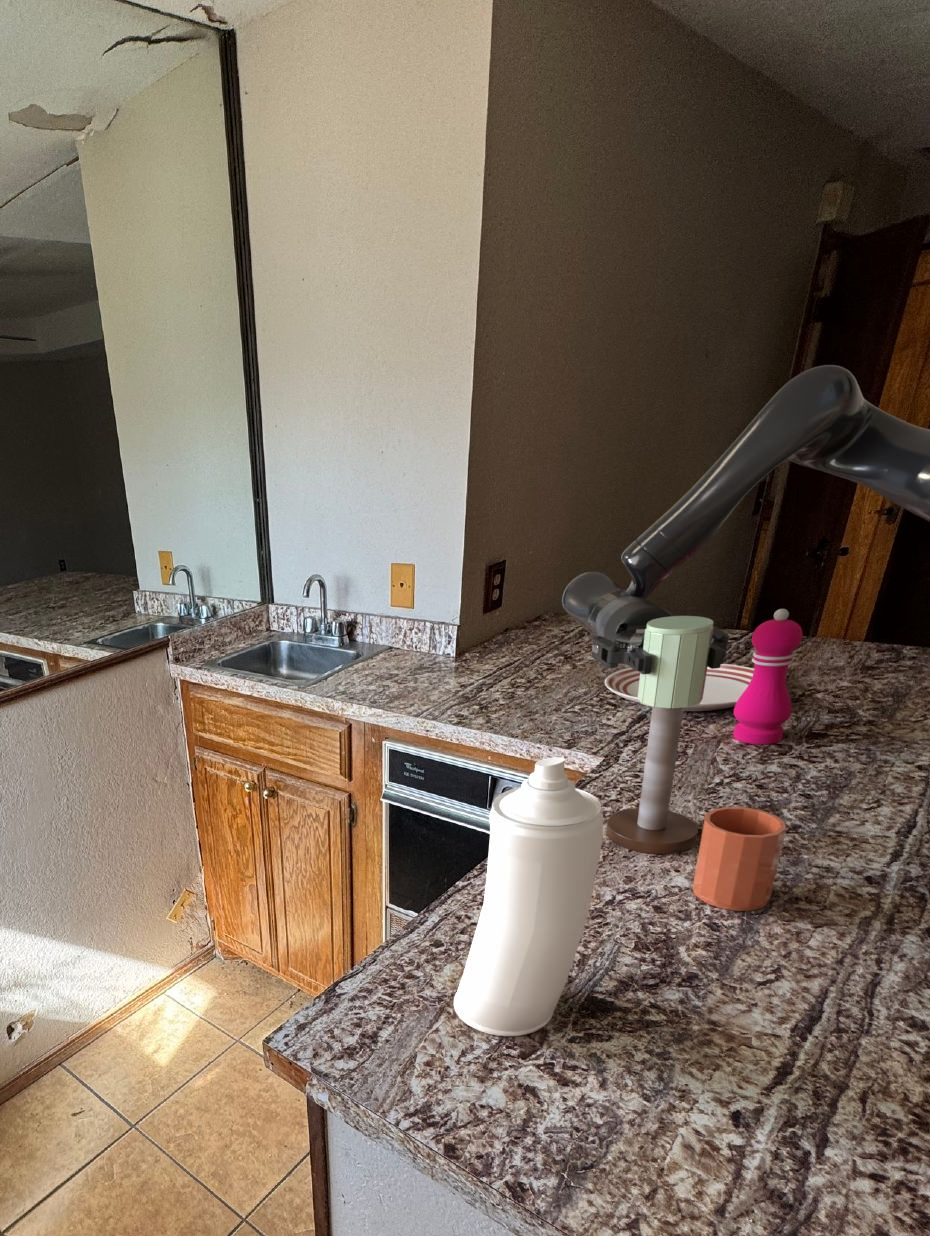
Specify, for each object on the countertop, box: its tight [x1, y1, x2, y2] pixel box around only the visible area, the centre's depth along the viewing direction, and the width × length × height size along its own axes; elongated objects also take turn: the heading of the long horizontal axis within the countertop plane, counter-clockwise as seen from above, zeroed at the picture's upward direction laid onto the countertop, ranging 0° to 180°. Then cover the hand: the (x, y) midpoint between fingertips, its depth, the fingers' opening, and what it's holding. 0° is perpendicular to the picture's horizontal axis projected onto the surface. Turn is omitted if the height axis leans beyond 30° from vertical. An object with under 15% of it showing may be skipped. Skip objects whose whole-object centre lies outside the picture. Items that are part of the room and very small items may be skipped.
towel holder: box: [605, 707, 699, 855], centre depth 90 cm, size 10×10×20 cm
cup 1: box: [637, 615, 714, 708], centre depth 85 cm, size 6×6×9 cm
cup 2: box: [692, 806, 787, 912], centre depth 79 cm, size 7×7×9 cm
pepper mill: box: [732, 608, 804, 745], centre depth 112 cm, size 7×7×20 cm
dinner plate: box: [604, 663, 754, 712], centre depth 135 cm, size 28×27×3 cm
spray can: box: [453, 756, 604, 1037], centre depth 66 cm, size 12×11×25 cm
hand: (682, 662), depth 82 cm, fingers closed on cup 1, 6 cm apart
